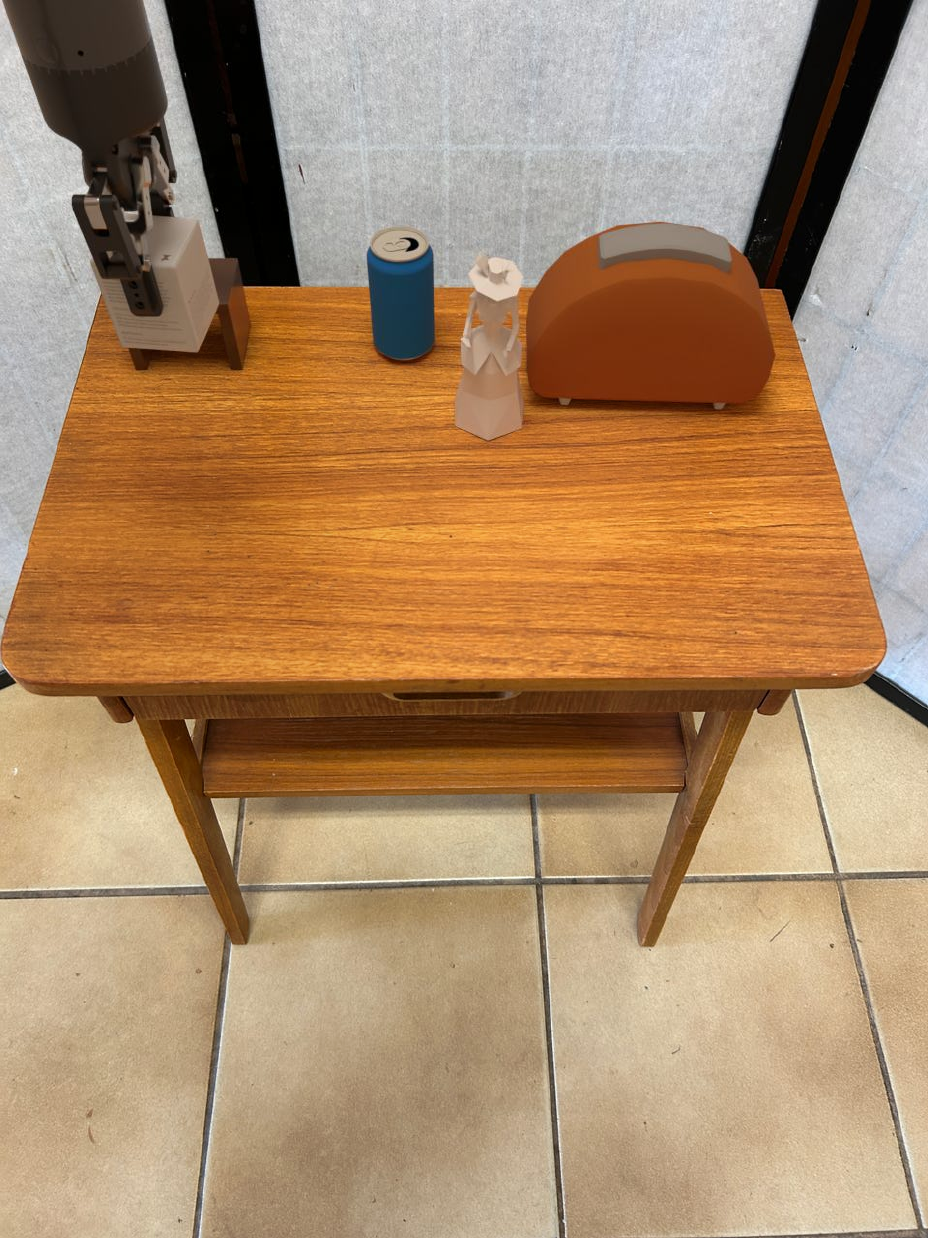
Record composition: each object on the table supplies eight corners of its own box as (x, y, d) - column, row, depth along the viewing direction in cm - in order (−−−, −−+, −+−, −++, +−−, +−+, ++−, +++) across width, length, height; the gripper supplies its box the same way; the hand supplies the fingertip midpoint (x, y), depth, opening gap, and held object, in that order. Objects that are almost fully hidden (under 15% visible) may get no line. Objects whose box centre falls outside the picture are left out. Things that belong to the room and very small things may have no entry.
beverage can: (442, 358, 99) (441, 255, 90) (382, 370, 98) (375, 267, 88) (425, 320, 103) (422, 218, 93) (367, 331, 102) (358, 229, 92)
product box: (222, 304, 73) (201, 216, 67) (199, 355, 70) (174, 267, 64) (145, 298, 74) (117, 210, 68) (118, 348, 70) (86, 260, 64)
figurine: (455, 442, 92) (456, 280, 78) (453, 386, 97) (453, 223, 82) (528, 440, 92) (542, 279, 78) (521, 384, 97) (534, 222, 82)
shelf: (242, 369, 98) (227, 303, 92) (135, 370, 98) (112, 303, 91) (251, 323, 102) (237, 257, 96) (148, 323, 102) (127, 257, 96)
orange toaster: (745, 356, 100) (792, 208, 86) (758, 415, 95) (809, 267, 81) (523, 350, 100) (534, 201, 87) (523, 408, 95) (535, 260, 81)
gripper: (120, 95, 51) (192, 348, 65) (172, -19, 59) (227, 226, 73) (-19, 94, 51) (82, 347, 65) (53, -20, 59) (129, 225, 73)
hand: (158, 282), depth 69 cm, fingers closed on product box, 6 cm apart
